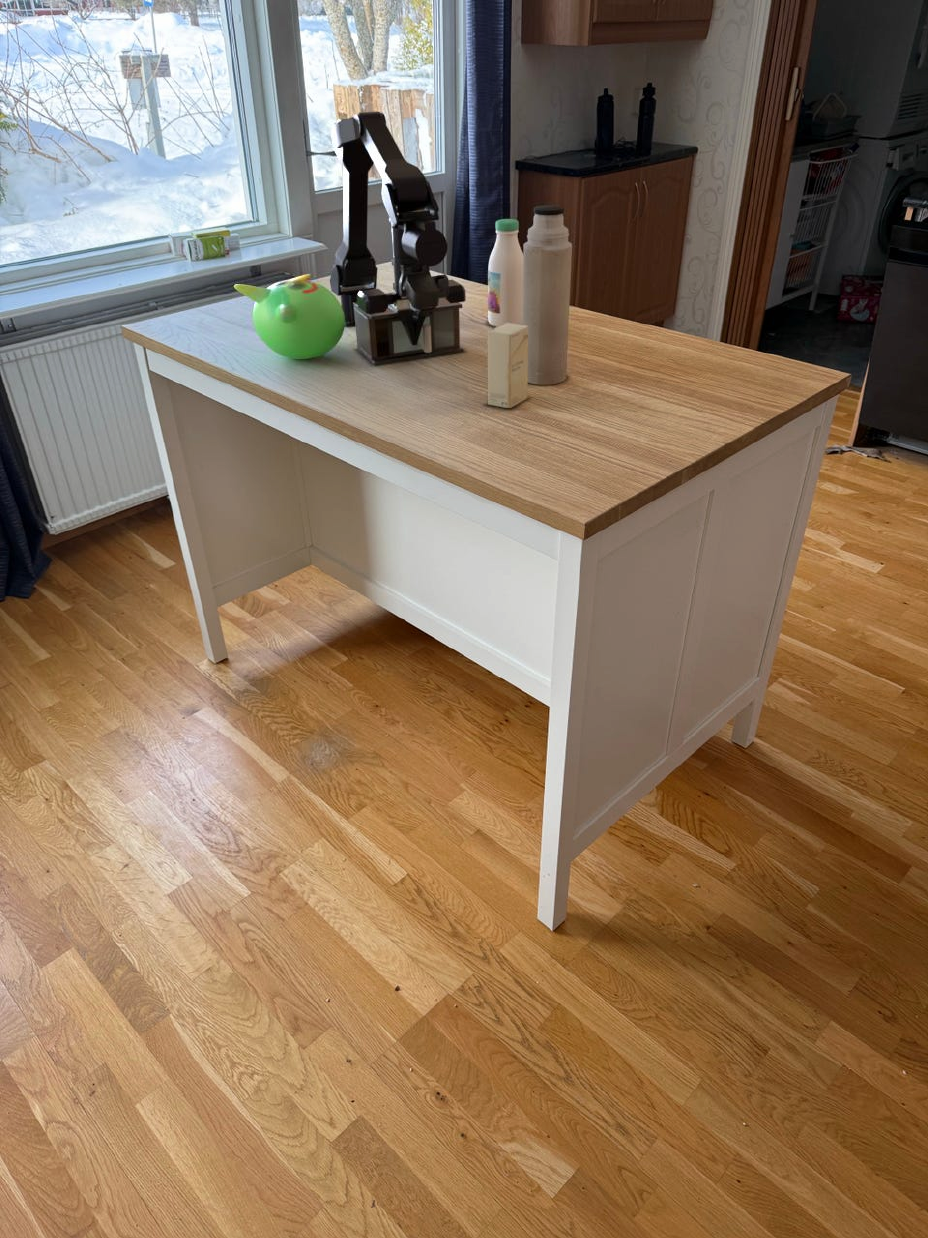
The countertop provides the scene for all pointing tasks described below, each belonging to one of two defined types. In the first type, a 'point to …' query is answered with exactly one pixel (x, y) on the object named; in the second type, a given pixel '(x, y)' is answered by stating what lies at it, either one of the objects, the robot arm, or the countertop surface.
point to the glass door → (401, 342)
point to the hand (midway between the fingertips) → (413, 344)
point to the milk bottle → (505, 276)
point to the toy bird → (296, 317)
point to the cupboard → (375, 325)
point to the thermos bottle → (547, 295)
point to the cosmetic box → (507, 365)
